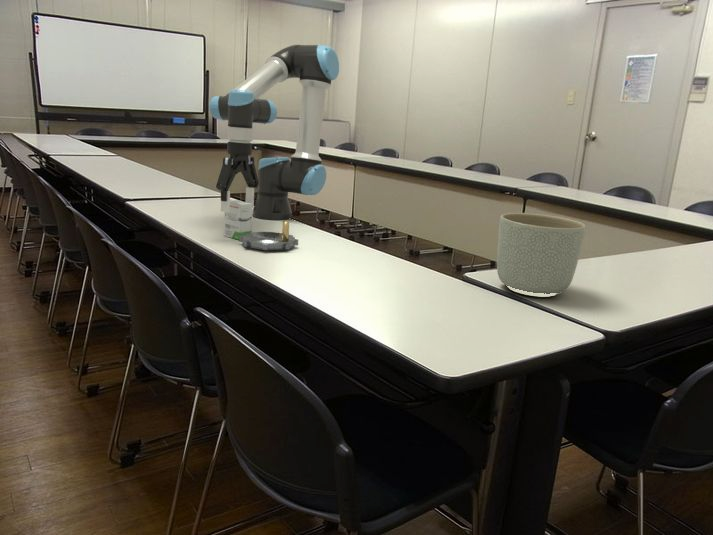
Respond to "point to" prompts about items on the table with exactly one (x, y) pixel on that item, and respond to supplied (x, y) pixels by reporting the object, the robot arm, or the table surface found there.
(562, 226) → the planter
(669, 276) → the table surface
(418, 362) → the table surface
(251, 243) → the sprocket
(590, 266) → the table surface
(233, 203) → the ink box
